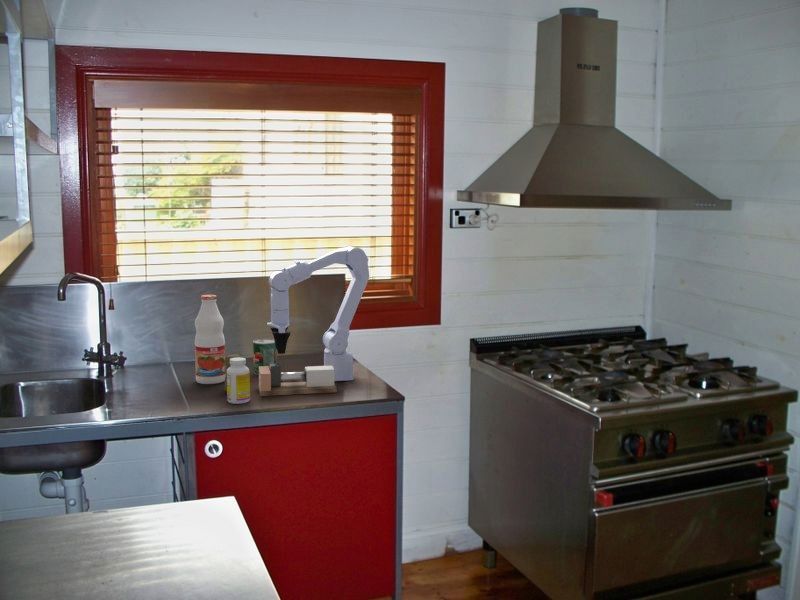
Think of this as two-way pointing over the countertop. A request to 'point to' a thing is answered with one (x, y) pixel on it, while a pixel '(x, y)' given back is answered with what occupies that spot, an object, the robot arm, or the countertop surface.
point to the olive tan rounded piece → (227, 362)
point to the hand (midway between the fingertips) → (280, 351)
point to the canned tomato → (263, 353)
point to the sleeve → (319, 376)
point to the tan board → (297, 389)
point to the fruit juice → (209, 343)
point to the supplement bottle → (238, 381)
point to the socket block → (264, 378)
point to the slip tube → (285, 376)
